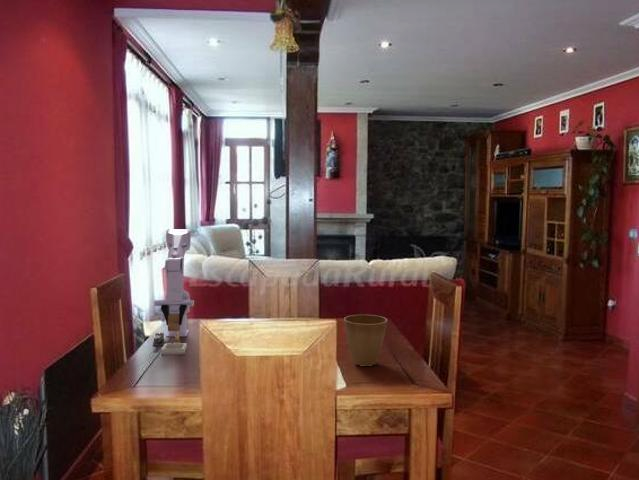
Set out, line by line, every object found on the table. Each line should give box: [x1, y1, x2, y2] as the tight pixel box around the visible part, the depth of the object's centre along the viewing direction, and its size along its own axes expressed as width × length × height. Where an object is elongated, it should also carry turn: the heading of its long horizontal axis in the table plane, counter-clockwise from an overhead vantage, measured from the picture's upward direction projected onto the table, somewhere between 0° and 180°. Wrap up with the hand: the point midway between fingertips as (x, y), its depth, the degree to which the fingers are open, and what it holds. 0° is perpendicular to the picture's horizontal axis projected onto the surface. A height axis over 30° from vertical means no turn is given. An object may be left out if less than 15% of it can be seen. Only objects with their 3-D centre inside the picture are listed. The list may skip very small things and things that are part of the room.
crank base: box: [152, 332, 181, 347], centre depth 203 cm, size 6×10×4 cm, turn 97°
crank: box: [153, 331, 165, 344], centre depth 199 cm, size 9×3×3 cm, turn 7°
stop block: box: [167, 313, 180, 332], centre depth 199 cm, size 4×4×6 cm
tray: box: [160, 342, 188, 356], centre depth 193 cm, size 8×8×2 cm
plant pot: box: [343, 314, 388, 366], centre depth 183 cm, size 15×15×16 cm
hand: (174, 324), depth 199 cm, fingers closed on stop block, 4 cm apart
